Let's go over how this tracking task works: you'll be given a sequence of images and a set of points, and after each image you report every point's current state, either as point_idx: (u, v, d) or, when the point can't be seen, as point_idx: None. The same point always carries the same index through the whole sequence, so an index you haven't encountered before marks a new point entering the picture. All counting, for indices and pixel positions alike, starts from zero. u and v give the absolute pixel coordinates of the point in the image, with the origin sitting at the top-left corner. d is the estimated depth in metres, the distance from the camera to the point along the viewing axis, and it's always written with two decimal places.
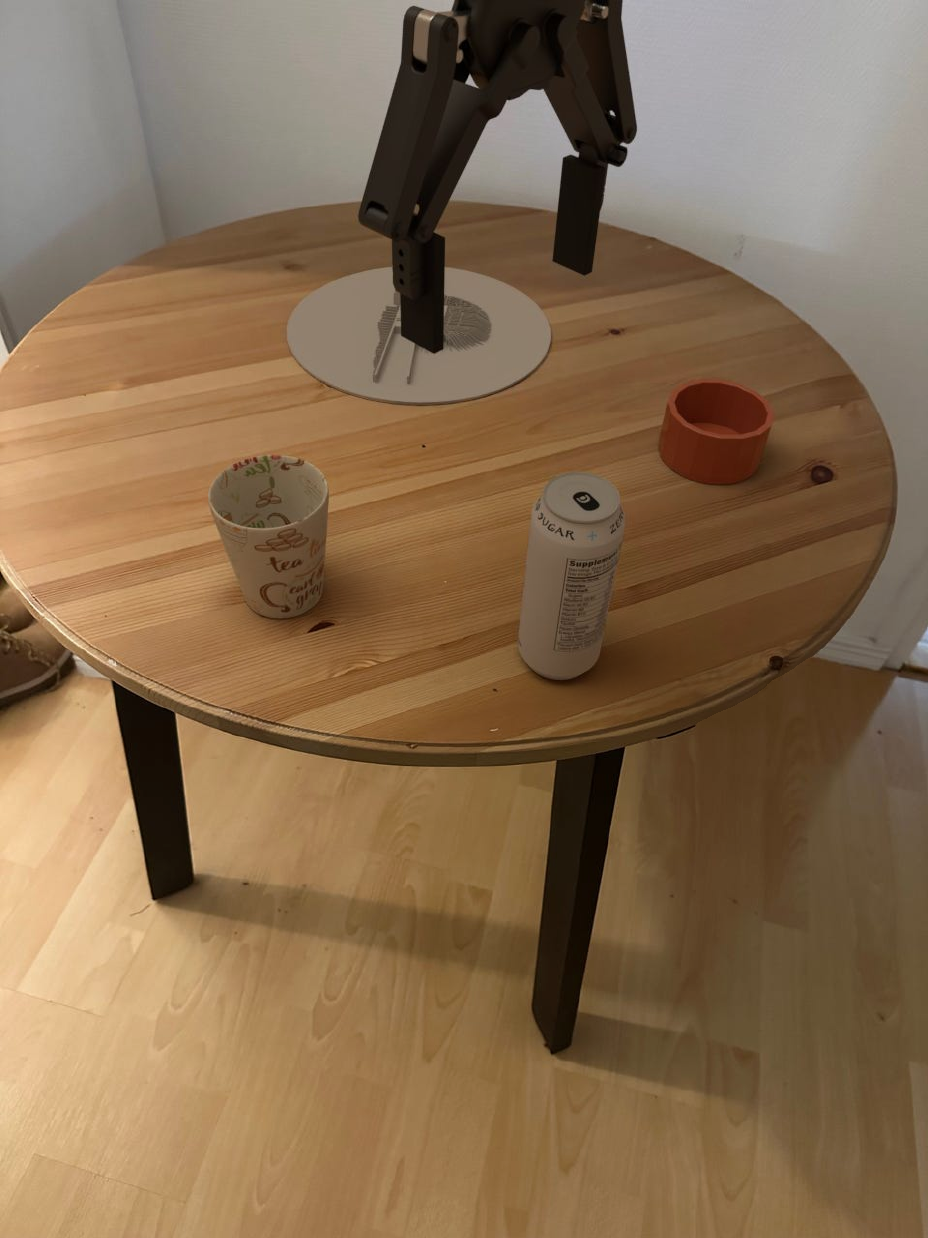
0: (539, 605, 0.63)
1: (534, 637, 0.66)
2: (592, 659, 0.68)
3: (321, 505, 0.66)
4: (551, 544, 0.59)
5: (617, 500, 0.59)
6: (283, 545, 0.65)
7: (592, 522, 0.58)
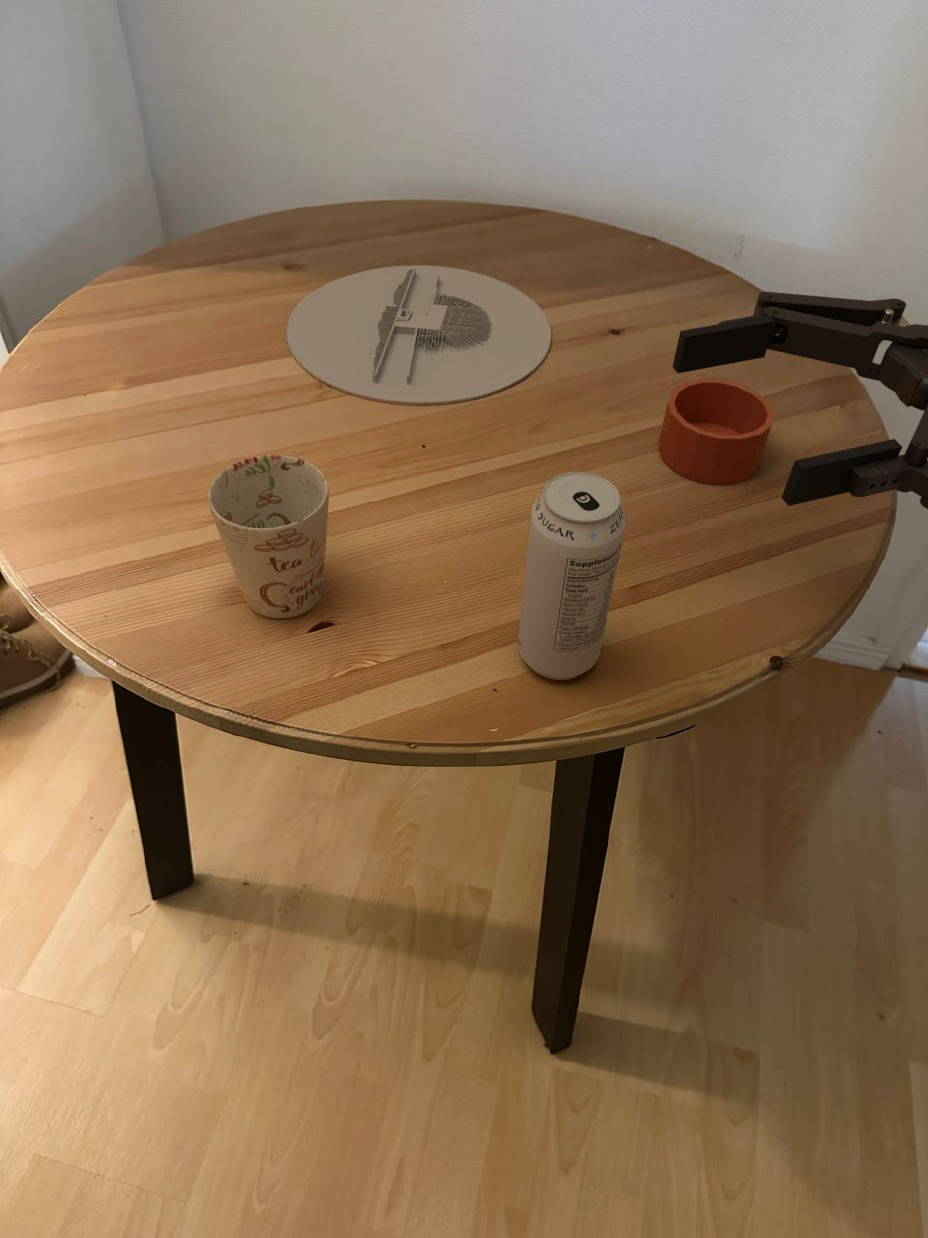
0: (539, 605, 0.63)
1: (534, 637, 0.66)
2: (592, 659, 0.67)
3: (321, 505, 0.66)
4: (551, 544, 0.59)
5: (617, 500, 0.59)
6: (283, 545, 0.65)
7: (592, 522, 0.58)
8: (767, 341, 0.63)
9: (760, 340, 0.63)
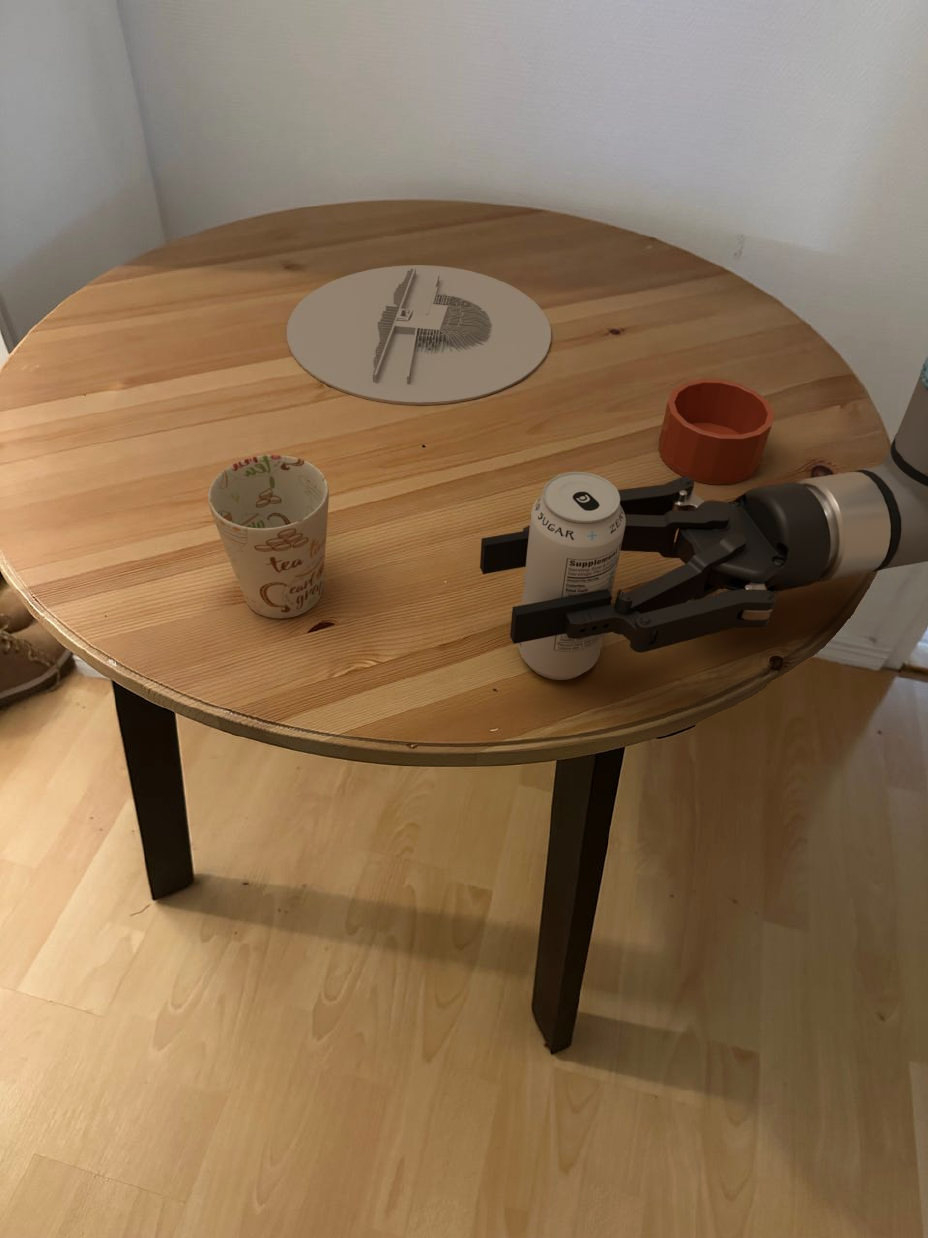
0: None
1: None
2: (592, 659, 0.67)
3: (321, 505, 0.66)
4: (551, 544, 0.59)
5: (617, 500, 0.59)
6: (283, 545, 0.65)
7: (592, 522, 0.58)
8: None
9: None
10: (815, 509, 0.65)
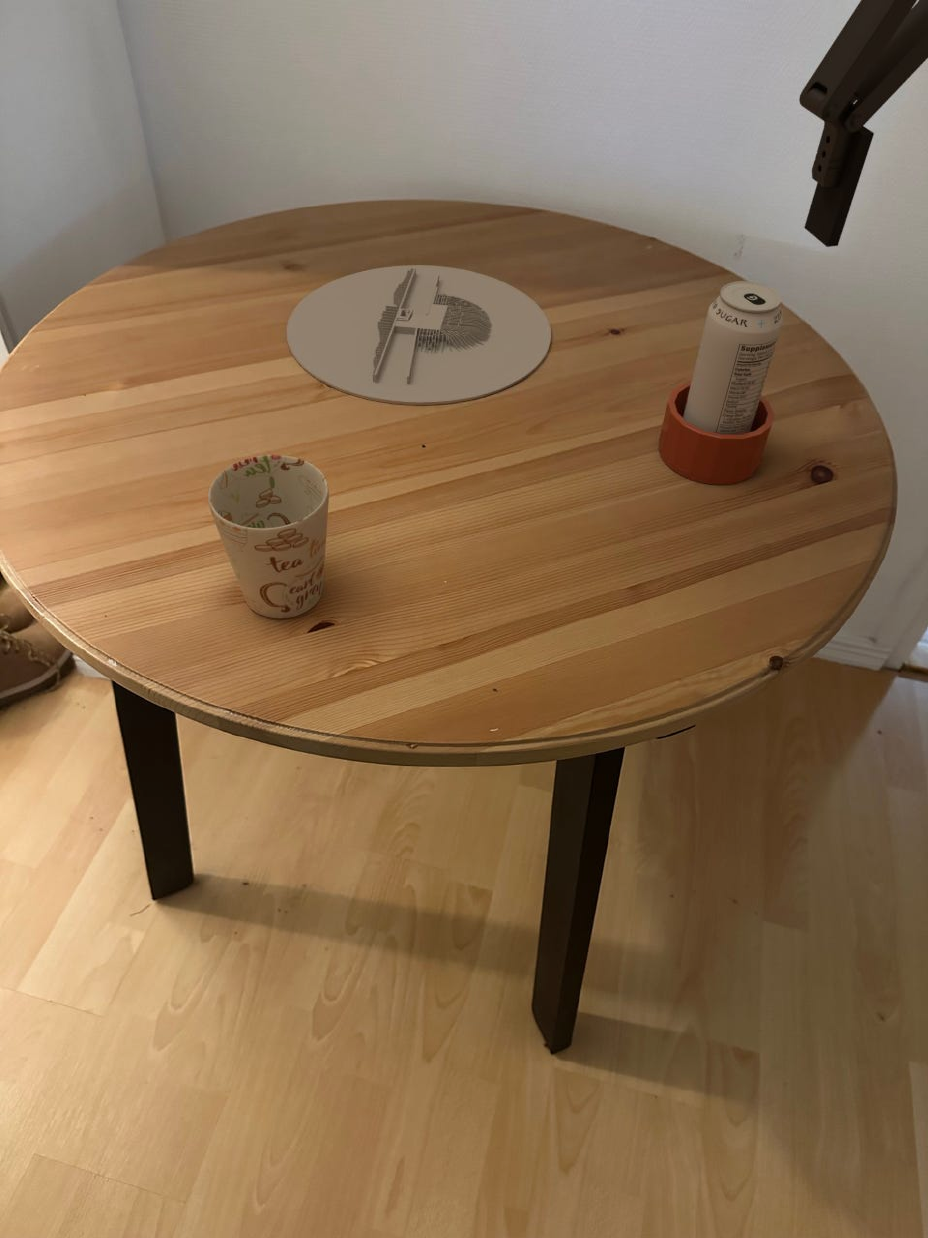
0: (708, 391, 0.81)
1: (700, 422, 0.83)
2: None
3: (321, 505, 0.66)
4: (728, 332, 0.76)
5: (778, 298, 0.77)
6: (283, 545, 0.65)
7: (762, 311, 0.75)
8: None
9: None
10: None
